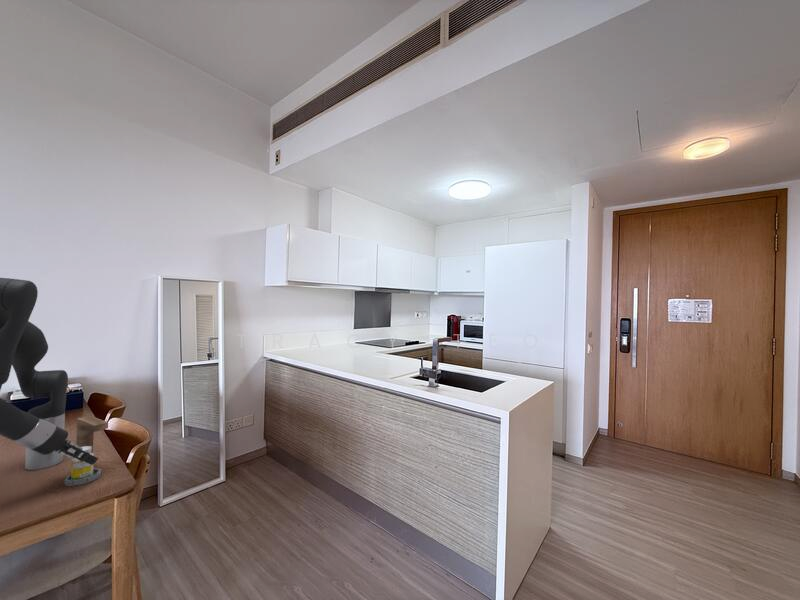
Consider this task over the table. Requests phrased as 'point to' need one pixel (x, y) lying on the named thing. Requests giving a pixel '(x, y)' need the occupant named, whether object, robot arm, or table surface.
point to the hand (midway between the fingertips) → (89, 458)
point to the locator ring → (82, 481)
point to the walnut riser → (88, 430)
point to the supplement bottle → (82, 466)
